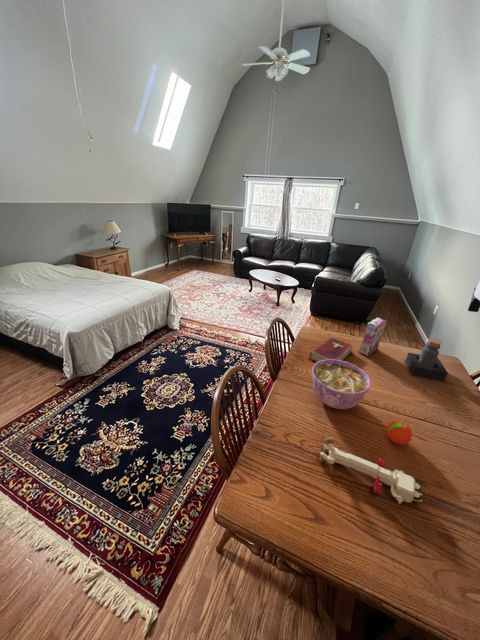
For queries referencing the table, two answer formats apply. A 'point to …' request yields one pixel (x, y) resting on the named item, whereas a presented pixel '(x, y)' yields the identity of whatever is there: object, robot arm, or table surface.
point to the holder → (426, 368)
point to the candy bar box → (372, 336)
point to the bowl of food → (339, 383)
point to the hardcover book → (331, 350)
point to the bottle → (430, 352)
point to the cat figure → (375, 473)
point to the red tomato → (399, 432)
